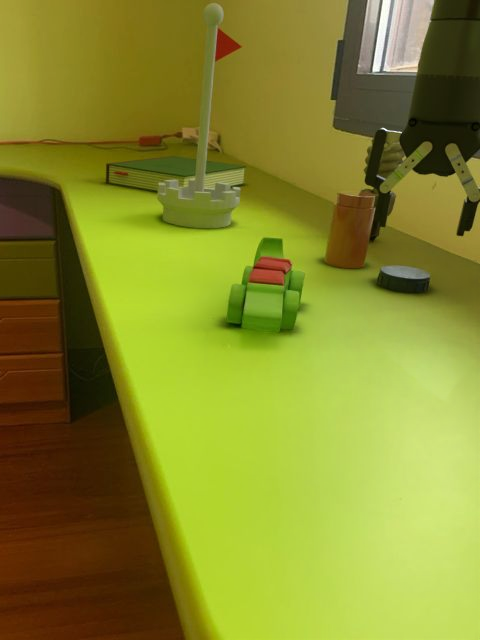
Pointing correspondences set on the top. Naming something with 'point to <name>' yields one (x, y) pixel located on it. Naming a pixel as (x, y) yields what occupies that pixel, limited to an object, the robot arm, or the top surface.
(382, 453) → the top surface
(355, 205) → the jar
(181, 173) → the hardcover book
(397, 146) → the light bulb
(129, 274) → the top surface
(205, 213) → the flag stand
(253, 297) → the toy crocodile
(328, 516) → the top surface
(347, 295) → the top surface
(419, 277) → the lid
